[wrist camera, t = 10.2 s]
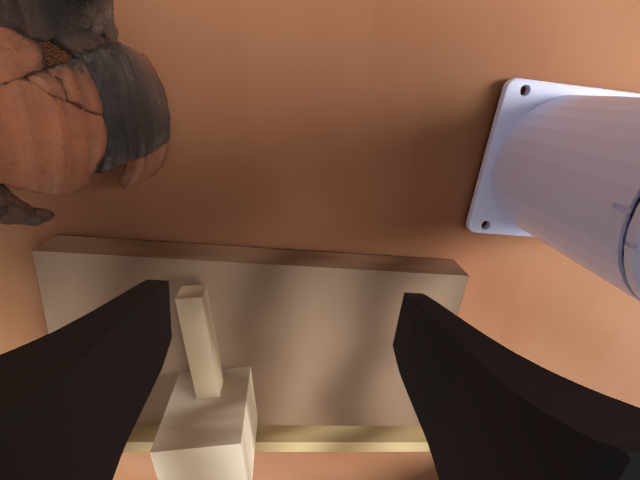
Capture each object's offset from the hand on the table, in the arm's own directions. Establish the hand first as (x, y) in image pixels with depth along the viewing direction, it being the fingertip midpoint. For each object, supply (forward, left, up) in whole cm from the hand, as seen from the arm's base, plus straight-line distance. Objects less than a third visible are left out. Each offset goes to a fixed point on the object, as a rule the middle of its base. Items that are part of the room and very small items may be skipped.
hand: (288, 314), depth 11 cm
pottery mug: (+10, -5, -10) cm, 15 cm away
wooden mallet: (+4, +8, -7) cm, 11 cm away
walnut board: (+1, +8, -9) cm, 12 cm away
